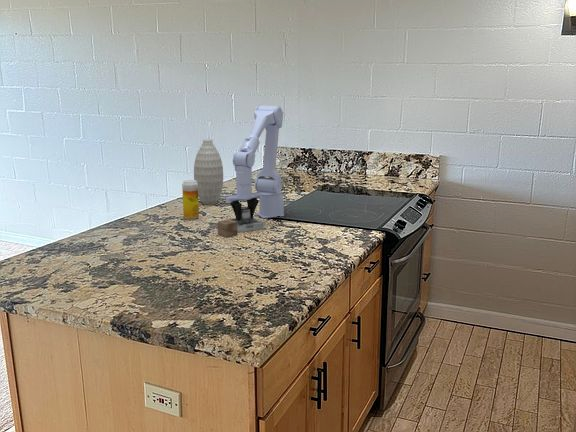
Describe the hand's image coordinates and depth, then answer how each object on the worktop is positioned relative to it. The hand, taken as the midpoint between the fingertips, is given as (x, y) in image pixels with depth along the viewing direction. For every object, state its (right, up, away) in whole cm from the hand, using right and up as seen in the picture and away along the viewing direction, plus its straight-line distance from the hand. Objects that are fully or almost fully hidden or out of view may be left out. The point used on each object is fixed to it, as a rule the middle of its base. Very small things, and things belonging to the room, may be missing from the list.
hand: (244, 219), depth 218 cm
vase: (-18, +7, +38) cm, 43 cm away
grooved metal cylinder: (0, -2, +1) cm, 2 cm away
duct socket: (0, -3, +1) cm, 3 cm away
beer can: (-22, 0, +13) cm, 26 cm away
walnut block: (-5, -6, -9) cm, 12 cm away
